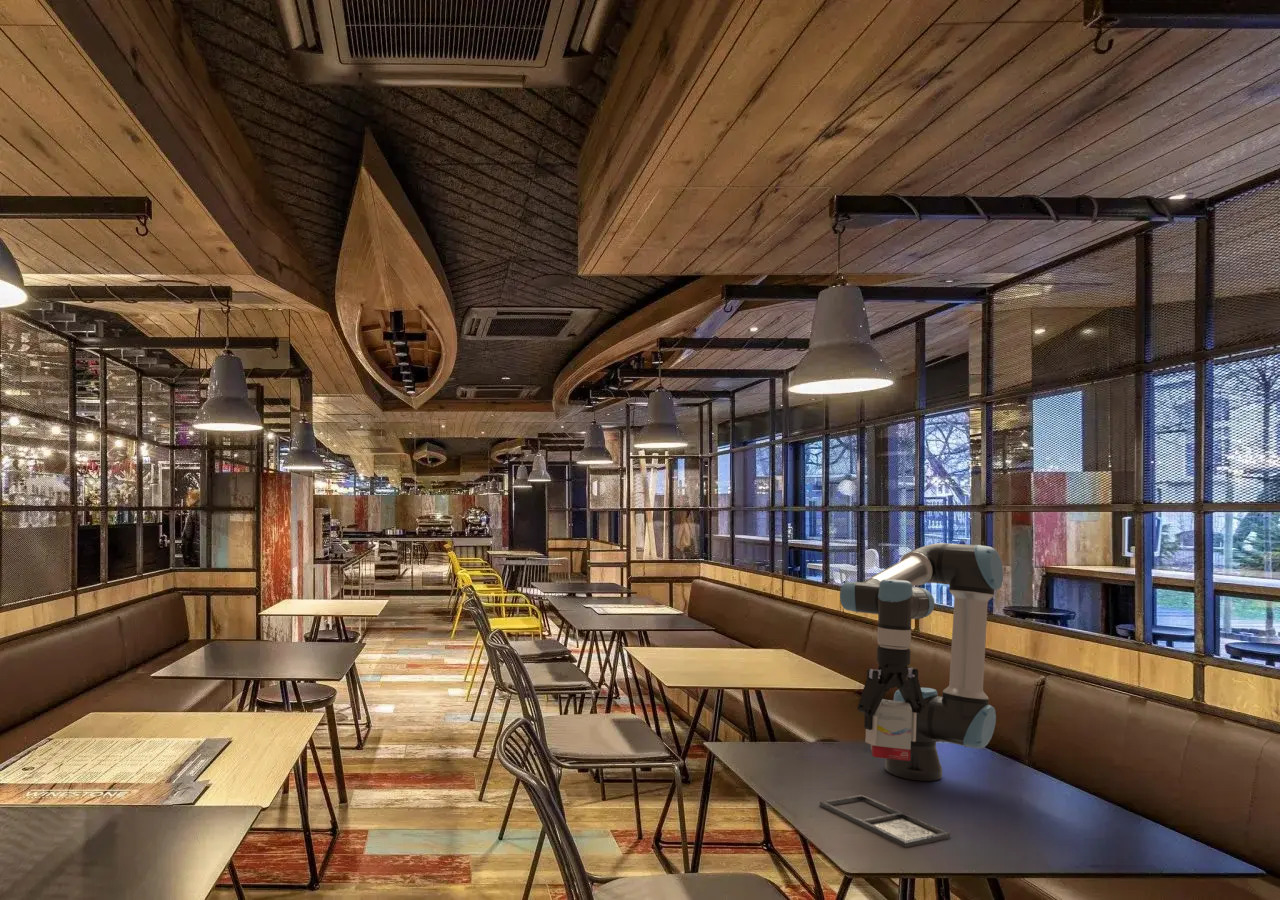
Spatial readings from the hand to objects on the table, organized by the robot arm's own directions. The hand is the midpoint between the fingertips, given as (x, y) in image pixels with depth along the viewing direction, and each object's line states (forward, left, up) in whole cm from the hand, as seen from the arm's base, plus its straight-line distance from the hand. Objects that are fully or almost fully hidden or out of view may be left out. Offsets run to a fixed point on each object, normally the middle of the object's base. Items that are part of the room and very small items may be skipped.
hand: (890, 742), depth 190 cm
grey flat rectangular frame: (-1, -3, -19) cm, 19 cm away
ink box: (0, 0, -3) cm, 3 cm away
